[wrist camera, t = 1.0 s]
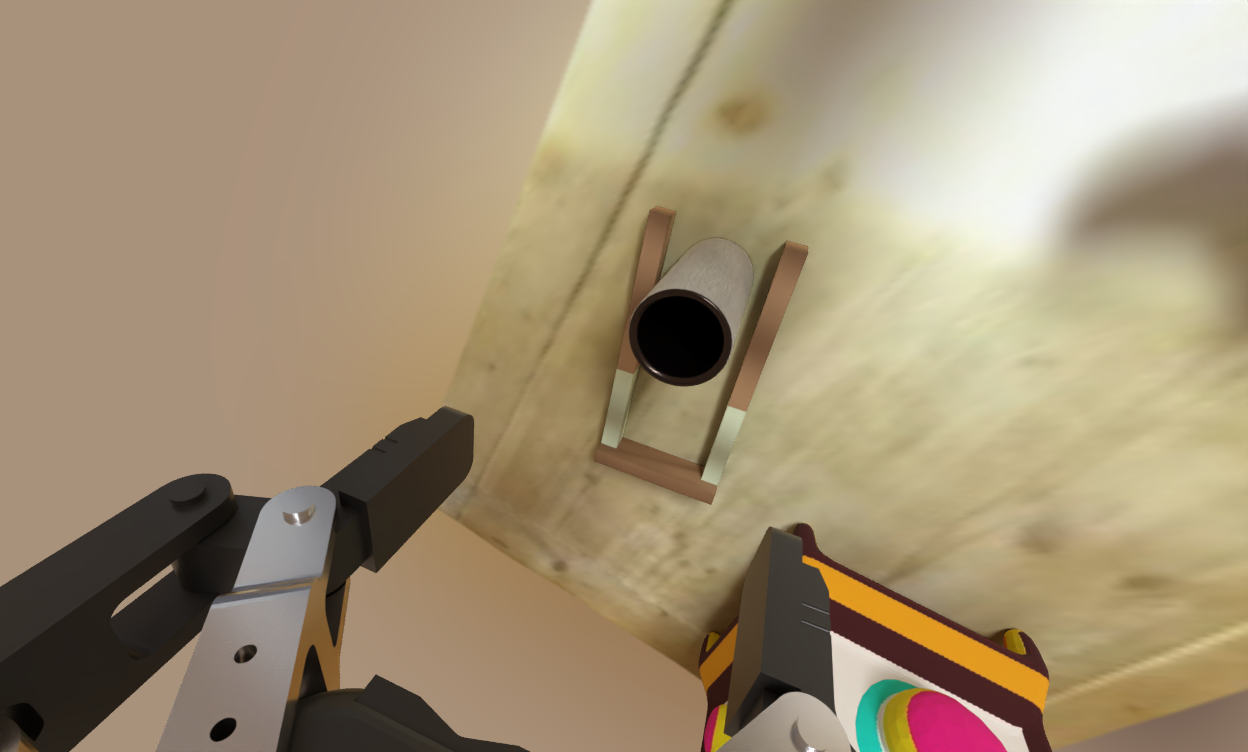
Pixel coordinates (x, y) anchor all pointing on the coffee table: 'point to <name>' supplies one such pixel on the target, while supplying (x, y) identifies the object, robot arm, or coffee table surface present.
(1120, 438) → the coffee table surface
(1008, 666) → the decorative lantern
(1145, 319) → the coffee table surface
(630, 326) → the grey hollow cylinder
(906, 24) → the coffee table surface
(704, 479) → the guide channel
